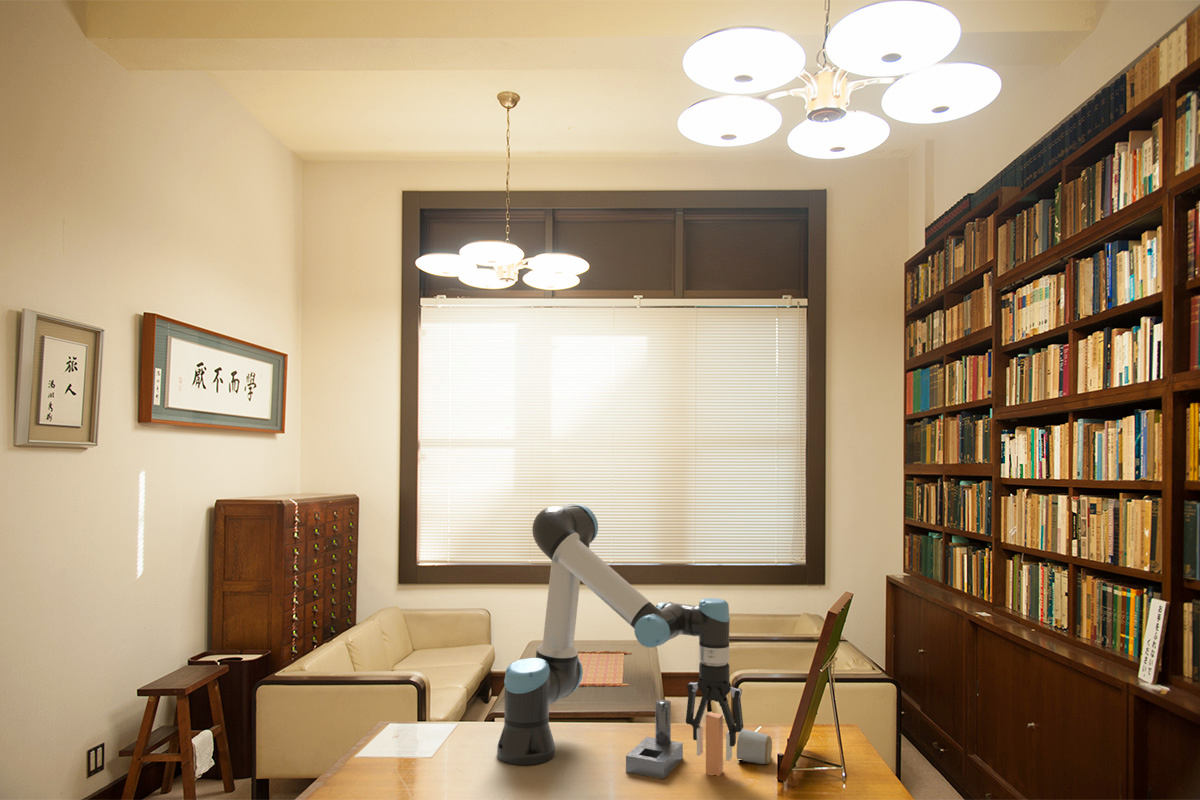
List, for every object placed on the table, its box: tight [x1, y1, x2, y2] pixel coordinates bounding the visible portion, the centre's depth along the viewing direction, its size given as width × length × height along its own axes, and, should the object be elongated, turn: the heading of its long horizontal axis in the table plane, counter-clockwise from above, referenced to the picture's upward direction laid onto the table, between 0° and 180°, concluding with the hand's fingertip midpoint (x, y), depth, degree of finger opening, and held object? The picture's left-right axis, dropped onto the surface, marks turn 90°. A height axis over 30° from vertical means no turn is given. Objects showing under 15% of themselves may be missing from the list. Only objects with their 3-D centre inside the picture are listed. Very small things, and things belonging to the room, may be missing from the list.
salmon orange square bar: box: [705, 711, 724, 777], centre depth 197 cm, size 3×3×14 cm
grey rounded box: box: [736, 728, 773, 765], centre depth 205 cm, size 11×8×8 cm
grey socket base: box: [625, 699, 684, 780], centre depth 202 cm, size 10×15×14 cm, turn 156°
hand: (714, 756), depth 197 cm, fingers open, 7 cm apart
